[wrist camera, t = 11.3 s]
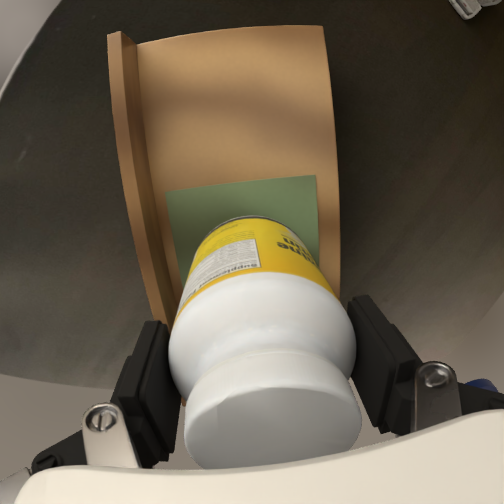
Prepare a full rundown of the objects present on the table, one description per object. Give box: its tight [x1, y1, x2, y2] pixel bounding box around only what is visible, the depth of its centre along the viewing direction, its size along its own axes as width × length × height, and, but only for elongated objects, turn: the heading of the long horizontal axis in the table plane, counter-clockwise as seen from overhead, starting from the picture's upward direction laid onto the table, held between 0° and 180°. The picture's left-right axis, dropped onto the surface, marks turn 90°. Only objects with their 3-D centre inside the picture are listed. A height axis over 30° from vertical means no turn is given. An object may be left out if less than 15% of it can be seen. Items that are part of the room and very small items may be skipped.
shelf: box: [107, 25, 340, 406], centre depth 21 cm, size 24×12×9 cm, turn 6°
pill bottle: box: [168, 216, 362, 470], centre depth 12 cm, size 6×6×12 cm
